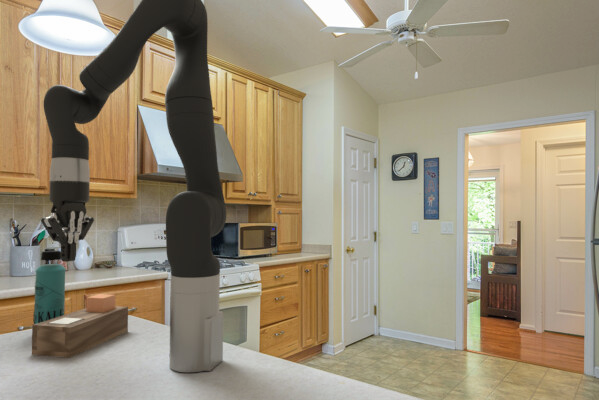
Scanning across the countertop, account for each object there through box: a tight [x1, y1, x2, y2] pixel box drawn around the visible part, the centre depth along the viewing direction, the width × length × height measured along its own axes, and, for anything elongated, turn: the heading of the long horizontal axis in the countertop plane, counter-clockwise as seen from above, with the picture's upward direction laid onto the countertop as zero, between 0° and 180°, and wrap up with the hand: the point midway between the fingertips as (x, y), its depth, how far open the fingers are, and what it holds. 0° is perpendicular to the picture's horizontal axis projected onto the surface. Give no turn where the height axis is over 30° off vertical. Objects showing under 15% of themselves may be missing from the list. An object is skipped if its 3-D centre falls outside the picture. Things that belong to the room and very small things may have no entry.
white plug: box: [49, 318, 83, 325], centre depth 87 cm, size 4×4×5 cm
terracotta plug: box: [86, 293, 116, 313], centre depth 98 cm, size 4×4×5 cm
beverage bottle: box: [32, 249, 66, 325], centre depth 98 cm, size 6×7×20 cm
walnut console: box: [31, 305, 129, 359], centre depth 92 cm, size 9×19×6 cm, turn 169°
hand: (68, 261), depth 87 cm, fingers closed
